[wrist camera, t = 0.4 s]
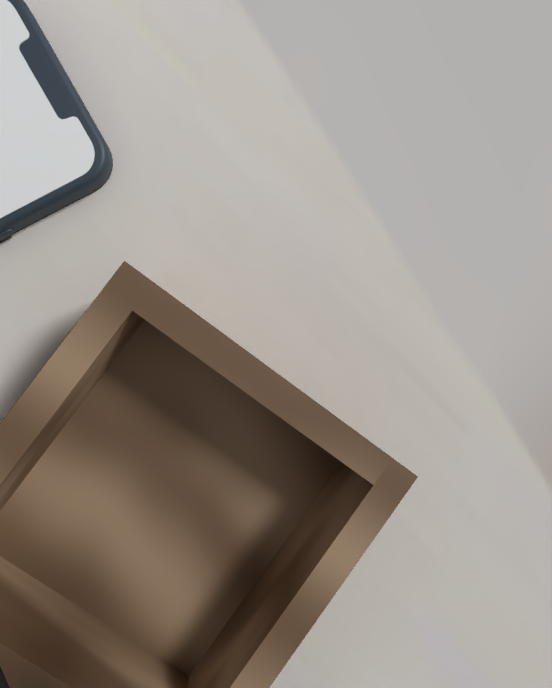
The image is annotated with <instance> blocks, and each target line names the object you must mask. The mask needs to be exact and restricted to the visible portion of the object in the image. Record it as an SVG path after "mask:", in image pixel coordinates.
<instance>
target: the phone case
mask: <svg viewBox="0 0 552 688" xmlns="http://www.w3.org/2000/svg"><path fill="white" fill-rule="evenodd" d="M112 167H113V159H112V155H111V152H110V149H109V147H108V145H107V144H106V142H105V140H104V138H103V137H102V135H101V133H100V131H99V130H98V128H97V126H96V124H95V123H94V121H93V119H92V117H91V116H90V114H89V112H88V110H87V109H86V107H85V105H84V103H83V102H82V100H81V98H80V96H79V95H78V93H77V91H76V89H75V88H74V86H73V84H72V82H71V80H70V79H69V77H68V75H67V73H66V72H65V70H64V68H63V66H62V65H61V63H60V61H59V59H58V58H57V56H56V54H55V52H54V51H53V49H52V47H51V45H50V44H49V42H48V40H47V38H46V37H45V35H44V33H43V31H42V30H41V28H40V26H39V24H38V23H37V21H36V19H35V17H34V16H33V14H32V13H31V11H30V9H29V8H28V6H27V5H26V3H25V2H24V1H23V0H0V241H2V240H4V239H6V238H8V237H9V236H11V235H13V234H14V233H15V232H17V231H19V230H21V229H23V228H25V227H27V226H29V225H30V224H32V223H34V222H36V221H38V220H40V219H42V218H44V217H46V216H48V215H49V214H51V213H53V212H55V211H57V210H59V209H61V208H63V207H65V206H67V205H68V204H70V203H72V202H74V201H76V200H78V199H80V198H82V197H84V196H86V195H87V194H89V193H91V192H93V191H95V190H97V189H99V188H100V187H102V186H103V185H104V184H105V183H106V182H107V180H108V179H109V177H110V175H111V172H112Z"/></svg>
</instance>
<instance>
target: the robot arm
mask: <svg viewBox="0 0 552 688" xmlns="http://www.w3.org/2000/svg"><path fill="white" fill-rule="evenodd" d="M0 688H10V687H9V685H8V683H7V680H6V678H5V676H4V674H3V671H2V669H1V667H0Z"/></svg>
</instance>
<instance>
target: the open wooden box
mask: <svg viewBox="0 0 552 688" xmlns="http://www.w3.org/2000/svg"><path fill="white" fill-rule="evenodd" d="M416 479H417V476H416V475H415V474H413V473H412V472H411V471H409V470H408V469H407V468H405V467H404V466H402V465H401V464H400V463H398V462H397V461H396V460H394V459H393V458H392V457H390V456H389V455H388V454H386V453H385V452H383V451H382V450H381V449H379V448H378V447H377V446H375V445H374V444H373V443H371V442H370V441H368V440H367V439H366V438H364V437H363V436H362V435H360V434H359V433H358V432H356V431H355V430H354V429H352V428H351V427H349V426H348V425H347V424H345V423H344V422H343V421H341V420H340V419H339V418H337V417H336V416H334V415H333V414H332V413H330V412H329V411H328V410H326V409H325V408H324V407H322V406H321V405H320V404H318V403H317V402H315V401H314V400H313V399H311V398H310V397H309V396H307V395H306V394H305V393H303V392H302V391H301V390H299V389H298V388H296V387H295V386H294V385H292V384H291V383H290V382H288V381H287V380H286V379H284V378H283V377H281V376H280V375H279V374H277V373H276V372H275V371H273V370H272V369H271V368H269V367H268V366H267V365H265V364H264V363H262V362H261V361H260V360H258V359H257V358H256V357H254V356H253V355H252V354H250V353H249V352H247V351H246V350H245V349H243V348H242V347H241V346H239V345H238V344H237V343H235V342H234V341H233V340H231V339H230V338H228V337H227V336H226V335H224V334H223V333H222V332H220V331H219V330H218V329H216V328H215V327H213V326H212V325H211V324H209V323H208V322H207V321H205V320H204V319H203V318H201V317H200V316H199V315H197V314H196V313H194V312H193V311H192V310H190V309H189V308H188V307H186V306H185V305H184V304H182V303H181V302H180V301H178V300H177V299H175V298H174V297H173V296H171V295H170V294H169V293H167V292H166V291H165V290H163V289H162V288H160V287H159V286H158V285H156V284H155V283H154V282H152V281H151V280H150V279H148V278H147V277H146V276H144V275H143V274H141V273H140V272H139V271H137V270H136V269H135V268H133V267H132V266H131V265H129V264H128V263H126V262H125V261H124V262H123V263H122V265H121V266H120V267H119V269H118V270H117V271H116V272H115V274H114V275H113V276H112V278H111V279H110V280H109V282H108V283H107V284H106V286H105V287H104V288H103V290H102V291H101V292H100V293H99V295H98V296H97V297H96V299H95V300H94V301H93V303H92V304H91V305H90V307H89V308H88V309H87V311H86V312H85V313H84V314H83V316H82V317H81V318H80V320H79V321H78V322H77V324H76V325H75V326H74V328H73V329H72V330H71V331H70V333H69V334H68V335H67V337H66V338H65V339H64V341H63V342H62V343H61V345H60V346H59V347H58V349H57V350H56V351H55V352H54V354H53V355H52V356H51V358H50V359H49V360H48V362H47V363H46V364H45V366H44V367H43V368H42V370H41V371H40V372H39V373H38V375H37V376H36V377H35V379H34V380H33V381H32V383H31V384H30V385H29V387H28V388H27V389H26V391H25V392H24V393H23V394H22V396H21V397H20V398H19V400H18V401H17V402H16V404H15V405H14V406H13V408H12V409H11V410H10V411H9V413H8V414H7V415H6V417H5V418H4V419H3V421H2V422H1V423H0V667H1V669H2V671H3V674H4V676H5V678H6V680H7V683H8V685H9V687H10V688H269V687H270V686H271V684H272V683H273V682H274V680H275V679H276V677H277V676H278V674H279V673H280V672H281V670H282V669H283V667H284V666H285V665H286V663H287V662H288V660H289V659H290V657H291V656H292V655H293V653H294V652H295V650H296V649H297V647H298V646H299V645H300V643H301V642H302V640H303V639H304V638H305V636H306V635H307V633H308V632H309V630H310V629H311V628H312V626H313V625H314V623H315V622H316V621H317V619H318V618H319V616H320V615H321V613H322V612H323V611H324V609H325V608H326V606H327V605H328V603H329V602H330V601H331V599H332V598H333V596H334V595H335V594H336V592H337V591H338V589H339V588H340V586H341V585H342V584H343V582H344V581H345V579H346V578H347V577H348V575H349V574H350V572H351V571H352V569H353V568H354V567H355V565H356V564H357V562H358V561H359V559H360V558H361V557H362V555H363V554H364V552H365V551H366V550H367V548H368V547H369V545H370V544H371V542H372V541H373V540H374V538H375V537H376V535H377V534H378V533H379V531H380V530H381V528H382V527H383V525H384V524H385V523H386V521H387V520H388V518H389V517H390V515H391V514H392V513H393V511H394V510H395V508H396V507H397V506H398V504H399V503H400V501H401V500H402V498H403V497H404V496H405V494H406V493H407V491H408V490H409V489H410V487H411V486H412V484H413V483H414V481H415V480H416Z"/></svg>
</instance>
